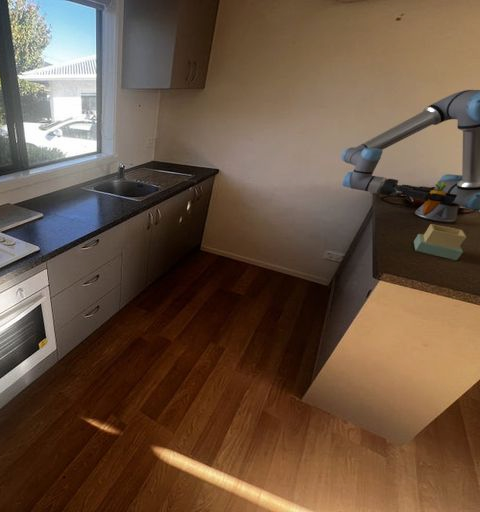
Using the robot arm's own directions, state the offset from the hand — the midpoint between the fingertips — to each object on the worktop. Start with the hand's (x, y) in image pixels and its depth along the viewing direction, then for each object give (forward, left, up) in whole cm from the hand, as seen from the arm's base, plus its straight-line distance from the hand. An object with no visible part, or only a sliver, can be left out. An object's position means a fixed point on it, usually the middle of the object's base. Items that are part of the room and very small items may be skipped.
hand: (453, 199), depth 121 cm
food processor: (+8, +8, -20) cm, 23 cm away
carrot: (+2, -5, -9) cm, 11 cm away
